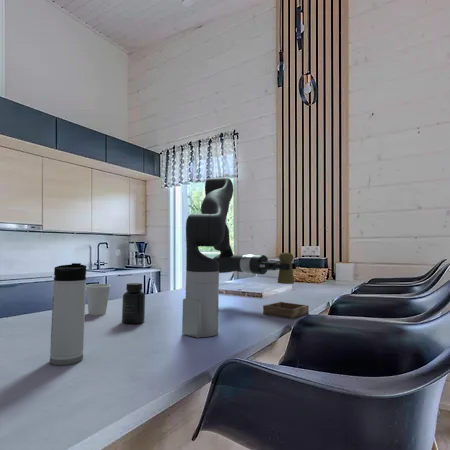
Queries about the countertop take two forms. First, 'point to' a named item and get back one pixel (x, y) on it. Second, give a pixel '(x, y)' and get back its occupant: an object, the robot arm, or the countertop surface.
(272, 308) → the box
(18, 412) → the countertop surface
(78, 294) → the travel mug
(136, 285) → the supplement bottle
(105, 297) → the dixie cup
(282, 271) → the cork
